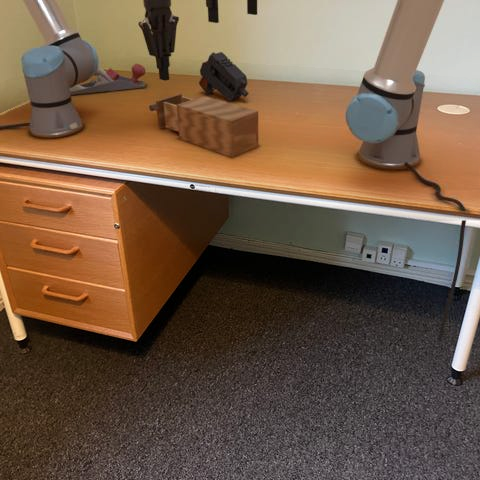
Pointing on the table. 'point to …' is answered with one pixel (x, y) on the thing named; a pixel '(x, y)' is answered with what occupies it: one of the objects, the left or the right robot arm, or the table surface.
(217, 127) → the wooden grain block
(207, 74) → the tool
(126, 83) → the hand plane
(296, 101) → the table surface
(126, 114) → the table surface
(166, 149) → the table surface
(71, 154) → the table surface
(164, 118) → the drawer
